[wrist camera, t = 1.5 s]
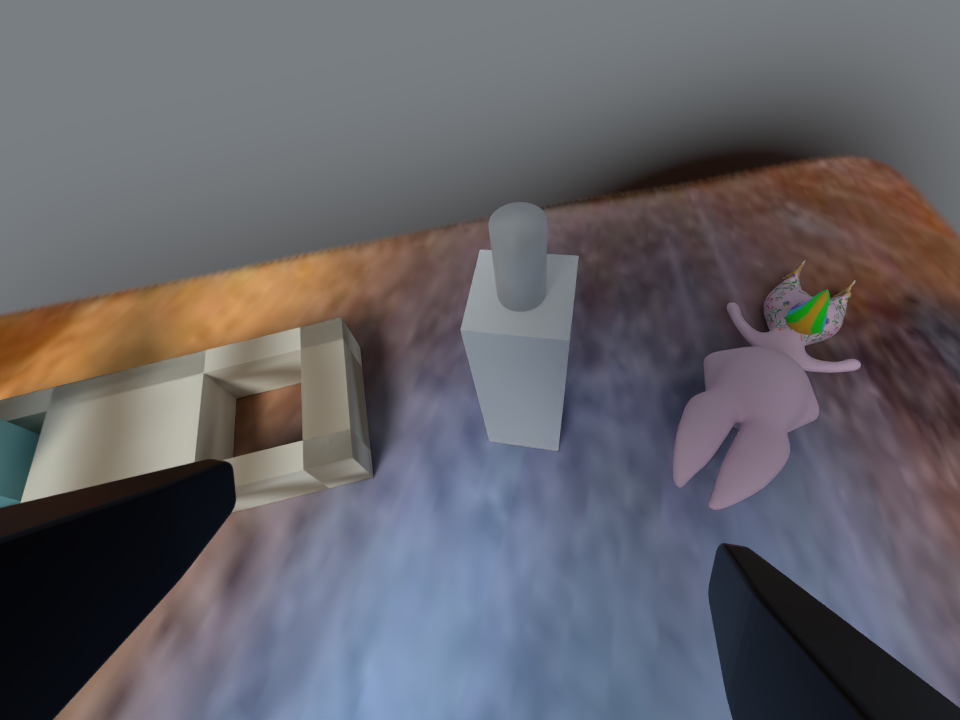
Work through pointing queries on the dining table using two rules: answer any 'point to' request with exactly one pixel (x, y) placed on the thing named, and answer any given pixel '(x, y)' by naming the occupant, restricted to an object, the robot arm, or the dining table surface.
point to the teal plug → (15, 461)
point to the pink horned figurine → (759, 392)
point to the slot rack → (205, 418)
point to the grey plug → (520, 329)
